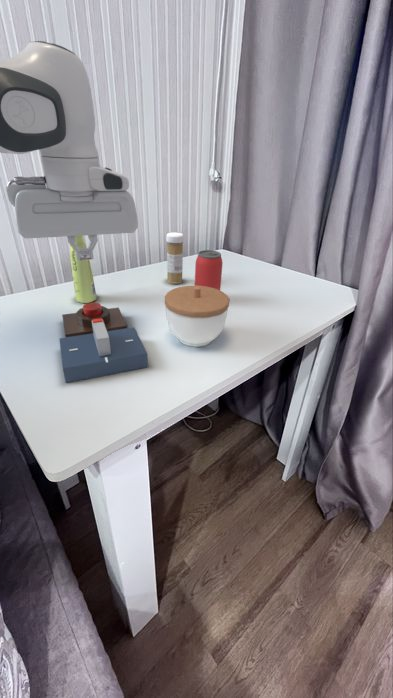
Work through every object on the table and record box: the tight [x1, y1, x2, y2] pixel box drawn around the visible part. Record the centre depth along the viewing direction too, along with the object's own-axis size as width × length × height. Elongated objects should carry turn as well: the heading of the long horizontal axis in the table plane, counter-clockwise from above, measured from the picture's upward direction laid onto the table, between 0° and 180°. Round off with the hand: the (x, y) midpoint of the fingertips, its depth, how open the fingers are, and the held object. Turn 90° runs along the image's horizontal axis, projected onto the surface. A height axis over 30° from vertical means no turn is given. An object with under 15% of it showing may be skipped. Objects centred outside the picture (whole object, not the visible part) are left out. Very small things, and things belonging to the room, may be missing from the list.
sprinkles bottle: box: [165, 231, 184, 285], centre depth 91 cm, size 5×5×13 cm
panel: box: [59, 326, 149, 384], centre depth 60 cm, size 14×11×3 cm
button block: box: [61, 305, 128, 338], centre depth 69 cm, size 12×9×4 cm
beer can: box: [194, 249, 224, 291], centre depth 82 cm, size 7×7×12 cm
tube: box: [69, 235, 98, 304], centre depth 78 cm, size 6×5×20 cm
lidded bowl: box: [164, 285, 230, 348], centre depth 66 cm, size 13×13×11 cm
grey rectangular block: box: [92, 318, 111, 356], centre depth 59 cm, size 7×2×4 cm, turn 22°
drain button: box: [82, 302, 102, 317], centre depth 68 cm, size 4×4×2 cm
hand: (85, 259), depth 62 cm, fingers closed
